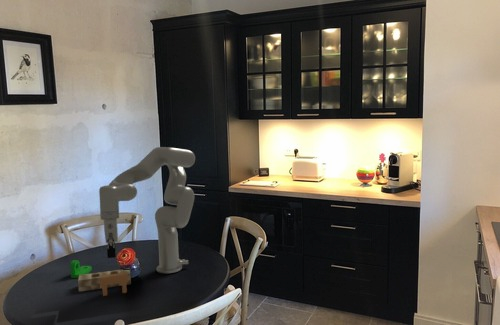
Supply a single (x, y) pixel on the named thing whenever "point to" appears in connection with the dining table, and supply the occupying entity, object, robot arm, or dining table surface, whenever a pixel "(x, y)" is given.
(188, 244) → the dining table surface
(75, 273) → the mechanical part
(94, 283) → the rail
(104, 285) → the brown piece
